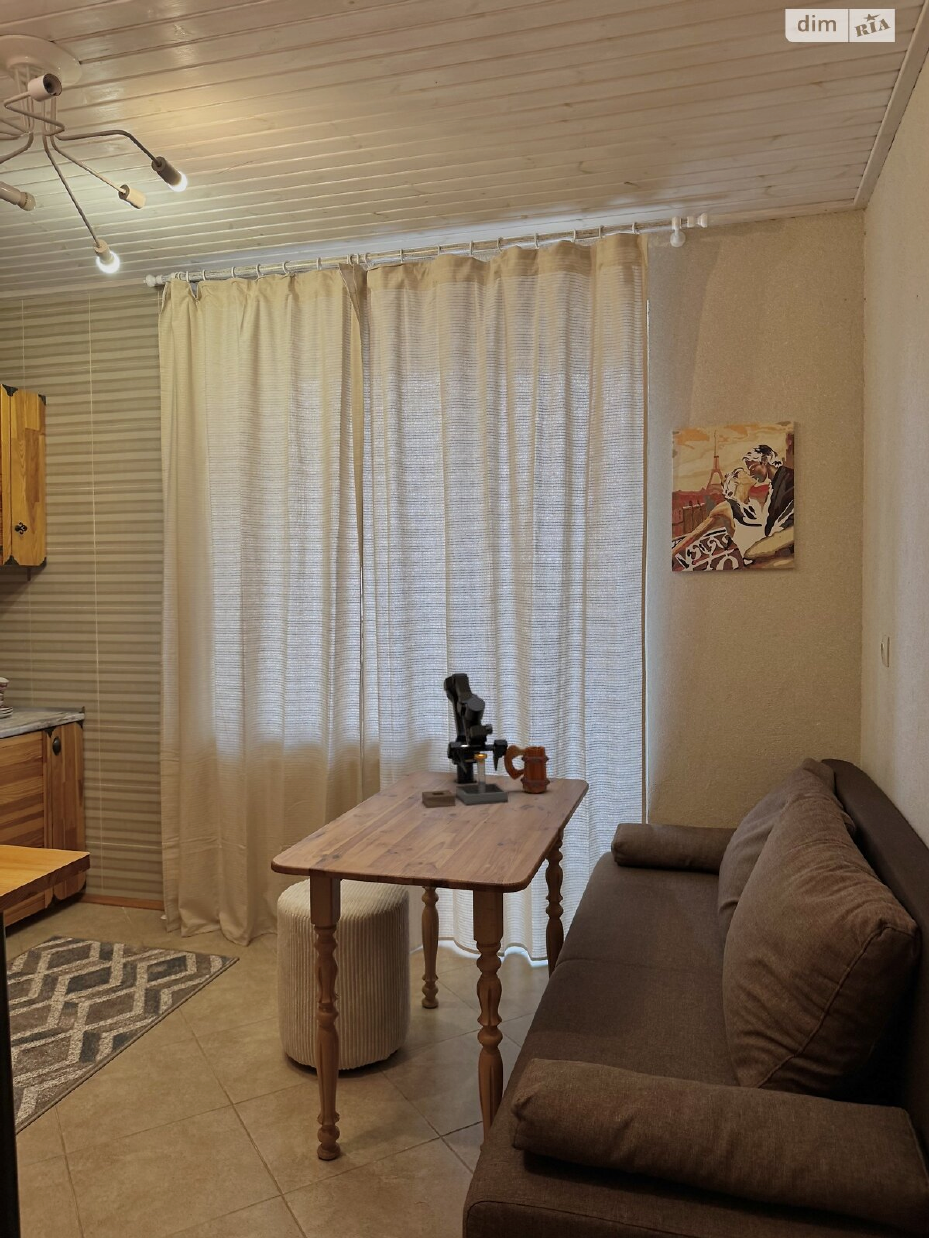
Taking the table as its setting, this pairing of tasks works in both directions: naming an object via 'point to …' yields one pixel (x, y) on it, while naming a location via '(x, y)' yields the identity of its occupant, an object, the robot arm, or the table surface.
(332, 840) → the table surface
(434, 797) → the hitch block
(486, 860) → the table surface
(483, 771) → the pin
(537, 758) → the mug
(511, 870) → the table surface
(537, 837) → the table surface
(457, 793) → the tray
